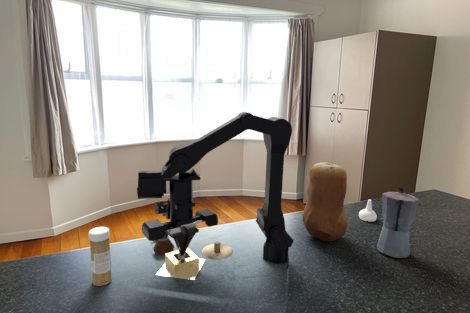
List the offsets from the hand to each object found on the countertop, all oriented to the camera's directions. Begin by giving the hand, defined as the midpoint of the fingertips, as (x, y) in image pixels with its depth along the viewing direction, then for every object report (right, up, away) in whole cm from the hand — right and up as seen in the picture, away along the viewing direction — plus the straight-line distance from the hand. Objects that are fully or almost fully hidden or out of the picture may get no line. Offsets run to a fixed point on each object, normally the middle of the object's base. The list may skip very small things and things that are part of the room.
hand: (181, 254), depth 80 cm
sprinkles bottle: (-19, -5, -5) cm, 20 cm away
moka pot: (+61, -4, +12) cm, 63 cm away
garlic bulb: (+64, +1, +38) cm, 74 cm away
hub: (0, -4, +1) cm, 4 cm away
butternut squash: (+43, -2, +21) cm, 47 cm away
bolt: (-9, -2, +14) cm, 17 cm away
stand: (+9, -3, +9) cm, 13 cm away
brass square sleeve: (0, -3, +1) cm, 4 cm away
